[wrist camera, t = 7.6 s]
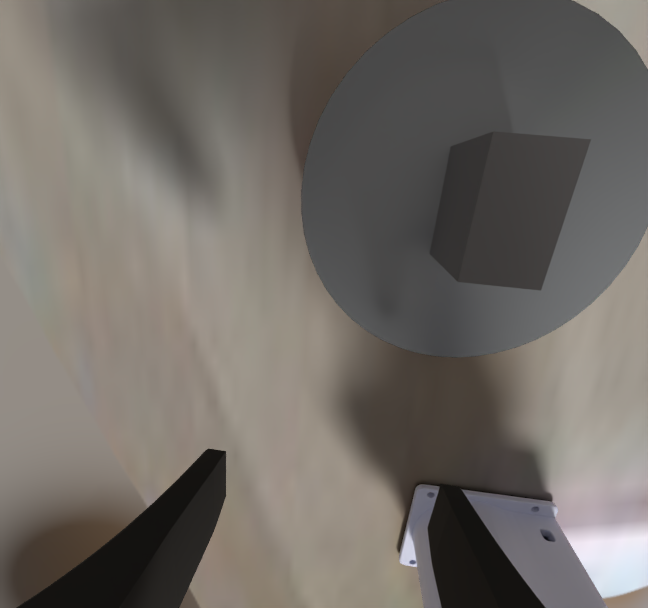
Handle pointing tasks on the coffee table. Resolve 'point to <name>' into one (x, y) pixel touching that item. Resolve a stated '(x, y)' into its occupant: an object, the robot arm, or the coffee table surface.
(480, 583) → the robot arm
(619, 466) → the coffee table surface
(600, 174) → the lid
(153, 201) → the coffee table surface
